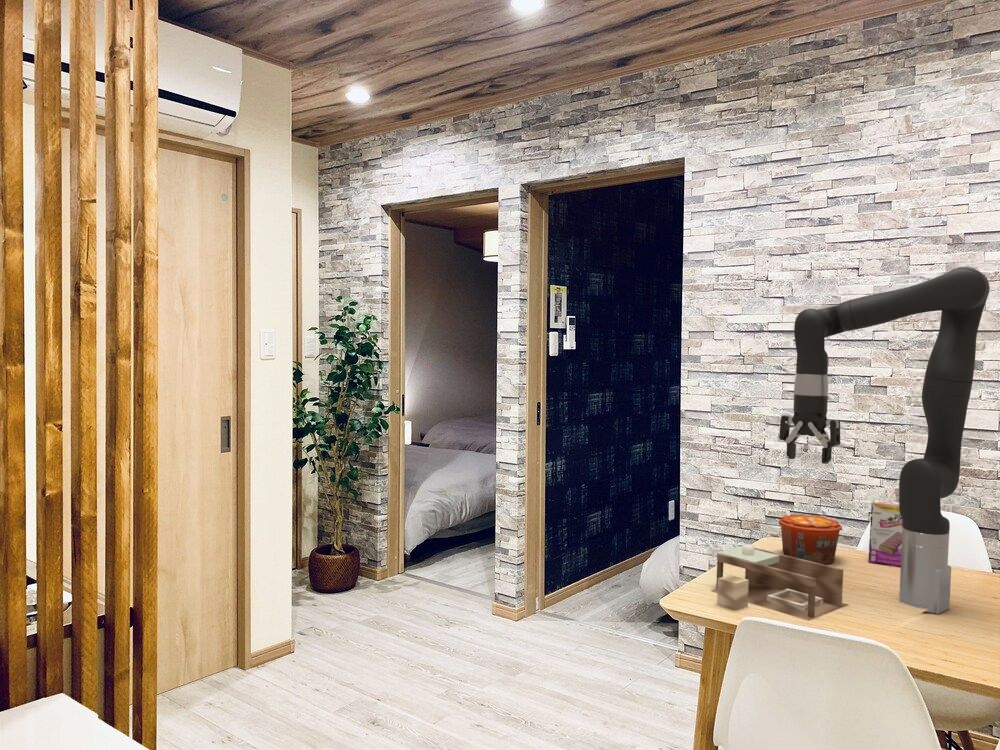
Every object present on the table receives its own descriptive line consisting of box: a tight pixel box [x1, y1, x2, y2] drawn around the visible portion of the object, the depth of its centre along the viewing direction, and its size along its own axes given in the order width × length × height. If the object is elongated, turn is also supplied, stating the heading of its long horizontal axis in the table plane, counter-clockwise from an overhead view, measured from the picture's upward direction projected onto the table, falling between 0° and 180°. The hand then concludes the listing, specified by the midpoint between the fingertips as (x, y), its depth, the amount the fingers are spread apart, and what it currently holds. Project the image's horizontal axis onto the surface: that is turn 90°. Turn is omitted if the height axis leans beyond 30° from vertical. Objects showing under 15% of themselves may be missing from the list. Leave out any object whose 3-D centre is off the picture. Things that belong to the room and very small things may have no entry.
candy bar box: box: [868, 499, 903, 567], centre depth 212 cm, size 11×5×16 cm, turn 59°
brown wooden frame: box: [711, 547, 850, 622], centre depth 179 cm, size 24×17×9 cm
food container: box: [778, 513, 843, 566], centre depth 216 cm, size 16×16×11 cm
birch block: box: [716, 574, 749, 612], centre depth 172 cm, size 5×5×6 cm
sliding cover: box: [716, 543, 780, 566], centre depth 185 cm, size 10×10×4 cm
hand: (808, 461), depth 190 cm, fingers open, 8 cm apart
